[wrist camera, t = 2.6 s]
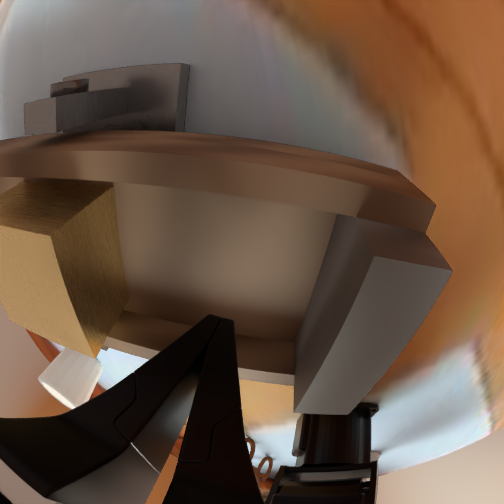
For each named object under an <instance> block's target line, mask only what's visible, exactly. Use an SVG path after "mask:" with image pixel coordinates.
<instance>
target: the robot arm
mask: <svg viewBox="0 0 504 504" xmlns="http://www.w3.org/2000/svg"><path fill="white" fill-rule="evenodd" d="M378 411H379V406H378V405H374V404H363V403H359V404H358V405H357V406H356V407H355V408H354V409H353V410H352V411H351V412H350V413H349V414H348V415H332V414H307V413H302V415H301V416H300V418H299V419H298V420H297V425H296V431H295V437H294V443H293V449H292V455H293V456H296V457H297V460H296V466H295V467H288V466H280V469H279V471H278V473H277V474H276V477H275V479H274V482H273V484H272V487H271V489H270V492H269V494H268V496H267V499H266V501H265V502H264V500H263V497H262V494H261V492H260V489H259V486H258V482H257V479H256V476H255V472H254V469H253V465H252V462H251V458H250V454H249V451H248V447H247V442H246V438H245V432H244V425H243V417H242V409H241V397H240V385H239V374H238V362H237V349H236V336H235V323H234V320H233V319H229V318H225V317H222V318H221V316H218V315H214V314H208V315H207V316H206V317H204V318H203V319H202V320H200V321H199V322H198V323H197V324H195V325H194V326H193V327H192V328H190V329H189V330H188V331H186V332H185V333H184V334H182V335H181V336H180V337H179V338H177V339H176V340H175V341H173V342H172V343H171V344H169V345H168V346H167V347H166V348H164V349H163V350H162V351H160V352H159V353H158V354H156V355H155V356H154V357H152V358H151V359H150V360H149V361H147V362H146V363H145V364H143V365H142V366H141V367H139V368H138V369H137V370H135V371H134V373H131V374H130V375H128V376H127V377H126V378H124V379H123V380H122V381H120V382H119V383H117V384H116V385H114V386H113V387H111V388H110V389H108V390H106V391H105V392H103V393H101V394H100V395H98V396H96V397H94V398H93V399H91V400H89V401H87V402H85V403H83V404H81V405H80V406H78V407H76V408H74V409H72V410H70V411H69V412H66V413H63V414H61V415H57V416H51V417H36V418H0V504H145V503H146V501H147V498H148V496H149V495H150V493H151V491H152V489H153V487H154V485H155V483H156V481H157V479H158V477H159V474H160V473H161V471H162V469H163V466H164V465H165V463H166V461H167V459H168V457H169V454H170V452H171V450H172V448H173V446H174V444H175V442H176V440H177V438H178V436H179V434H180V432H181V430H182V428H183V426H184V424H185V422H186V420H187V418H188V416H189V418H188V422H187V426H186V430H185V434H184V438H183V442H182V446H181V450H180V453H179V458H178V463H177V466H176V469H175V473H174V476H173V479H172V482H171V484H170V487H169V489H168V491H167V494H166V496H165V498H164V501H163V503H162V504H376V499H377V489H378V460H376V461H371V417H372V416H373V415H374V414H375V413H377V412H378ZM365 478H370V481H365V482H363V479H365Z"/></svg>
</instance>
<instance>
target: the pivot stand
mask: <svg viewBox="0 0 504 504" xmlns="http://www.w3.org/2000/svg"><path fill="white" fill-rule="evenodd" d="M189 70H190V65H188V64H182V63H173V64H153V65H141V66H131V67H122V68H114V69H107V70H101V71H95V72H89V73H84V74H79V75H74V76H70V77H65V78H63V82H60V83H55V84H51V93H50V98H47V99H43V100H38V101H34V102H30V103H26V104H24V124H25V135H33V134H46V133H57V132H61V131H63V133H65V132H80V131H107V130H142V131H170V132H184V124H185V111H186V99H187V89H188V79H189ZM108 348H109V347H106V346H102V347H101V349H103V350H105V351H107V349H108Z"/></svg>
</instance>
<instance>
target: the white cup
mask: <svg viewBox="0 0 504 504" xmlns="http://www.w3.org/2000/svg"><path fill="white" fill-rule="evenodd" d="M102 371H103V368H102V365H101V364H100V362H99V361H98V360H97V359H95V358H92V357H89V356H87V355H84V354H81V353H79V352H76V351H74V350H72V349H69V348H67V347H66V348H65V349H64V350H63V351H62V352H61V353H60V354H59V355H58V356H57V357H56V358H55V359H54V360H53V362H52V363H51V364H50V365H49V366H48V367H47V368H46V369H45V370H44V372H43V373H42V374H41V375H40V376H39V377H38V380H39V381H40V383H41V384H42V385H43V387H44V388H45V389H46V390H47V391H48V392H49V393H50V394H51V395H52V396H53V397H54V398H56V399H57V400H58V401H59V402H61V403H62V404H63V405H65V406H66V407H68V408H69V409H71V410H72V409H74V408H76V407H78V406H80V405H81V404H83V403H85V402H87V401H88V400H89V398H90V396H91V394H92V392H93V390H94V387H95V385H96V383H97V381H98V379H99V377H100V375H101V373H102Z"/></svg>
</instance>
